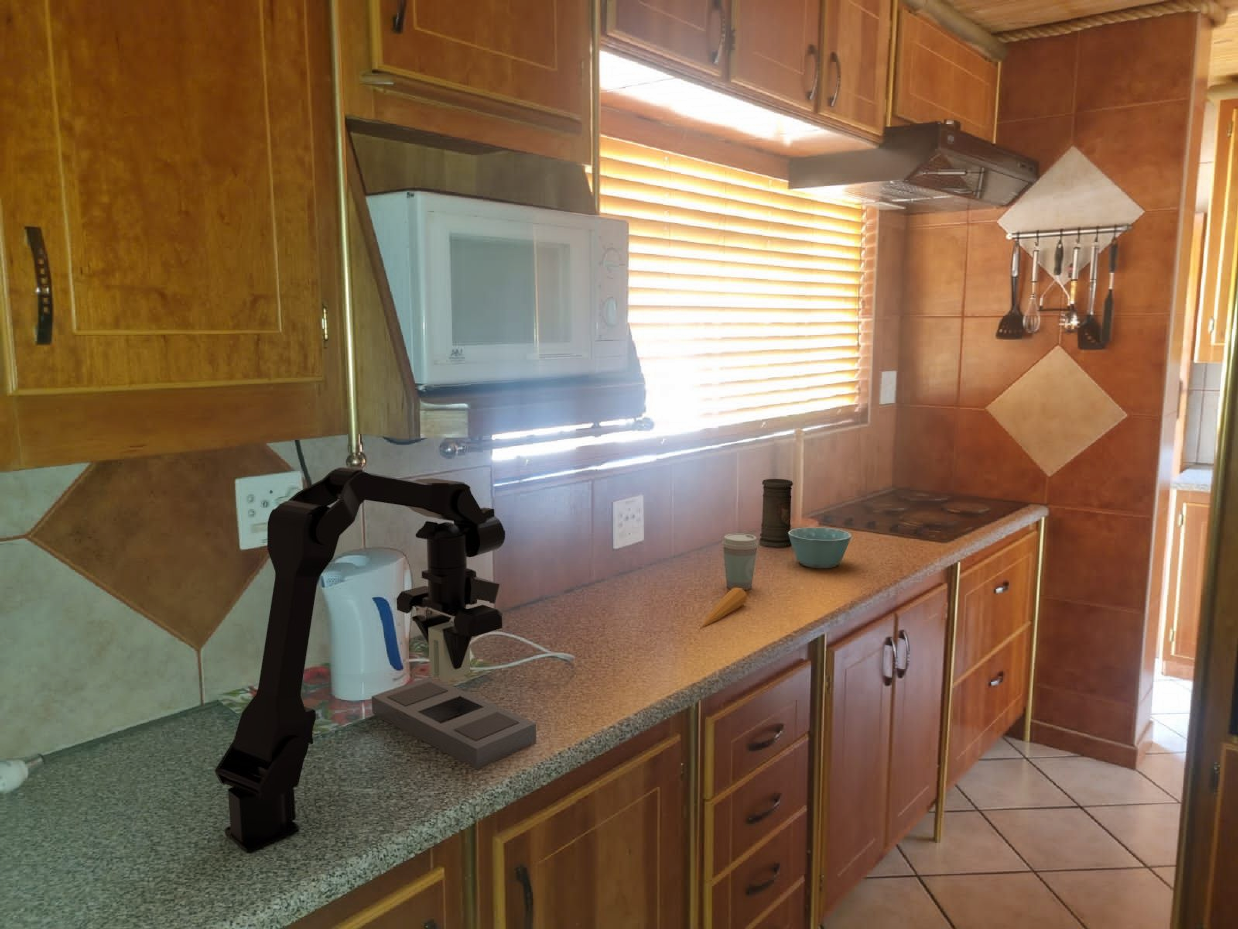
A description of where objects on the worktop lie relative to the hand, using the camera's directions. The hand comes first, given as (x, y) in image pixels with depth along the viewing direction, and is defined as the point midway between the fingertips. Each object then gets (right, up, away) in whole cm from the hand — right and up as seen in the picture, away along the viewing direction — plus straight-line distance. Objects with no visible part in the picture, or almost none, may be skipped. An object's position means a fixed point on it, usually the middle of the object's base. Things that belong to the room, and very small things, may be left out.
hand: (449, 665), depth 135 cm
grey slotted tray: (0, -10, +2) cm, 10 cm away
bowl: (+77, +4, +97) cm, 124 cm away
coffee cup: (+54, +1, +76) cm, 93 cm away
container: (+70, +8, +118) cm, 138 cm away
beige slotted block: (0, -2, 0) cm, 2 cm away
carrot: (+47, -2, +56) cm, 73 cm away
